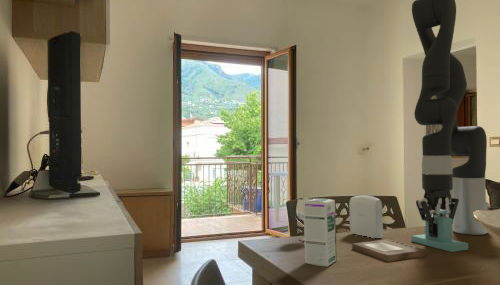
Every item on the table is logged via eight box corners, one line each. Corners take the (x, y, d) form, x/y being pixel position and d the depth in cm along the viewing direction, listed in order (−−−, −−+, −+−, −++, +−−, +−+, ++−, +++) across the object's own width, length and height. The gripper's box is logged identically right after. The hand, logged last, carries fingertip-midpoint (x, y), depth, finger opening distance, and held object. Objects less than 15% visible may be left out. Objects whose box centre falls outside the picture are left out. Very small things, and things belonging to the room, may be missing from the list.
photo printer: (347, 234, 121) (347, 194, 122) (356, 232, 124) (355, 193, 124) (377, 240, 113) (376, 197, 114) (385, 238, 116) (384, 196, 116)
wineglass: (294, 241, 112) (293, 199, 113) (299, 237, 118) (299, 197, 118) (314, 243, 110) (313, 200, 111) (318, 239, 116) (318, 198, 116)
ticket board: (388, 245, 107) (388, 238, 107) (426, 256, 95) (426, 249, 95) (352, 249, 103) (352, 242, 103) (387, 262, 91) (387, 254, 91)
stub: (427, 239, 113) (426, 212, 113) (468, 249, 101) (467, 219, 101) (411, 241, 111) (411, 214, 111) (451, 251, 99) (450, 221, 99)
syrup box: (328, 267, 87) (327, 201, 88) (303, 263, 90) (303, 200, 91) (337, 261, 92) (336, 199, 92) (313, 257, 95) (312, 197, 96)
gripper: (444, 171, 113) (445, 231, 112) (406, 172, 107) (407, 236, 107) (467, 172, 106) (469, 236, 105) (429, 173, 100) (430, 241, 100)
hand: (438, 236), depth 106 cm, fingers closed on stub, 3 cm apart
